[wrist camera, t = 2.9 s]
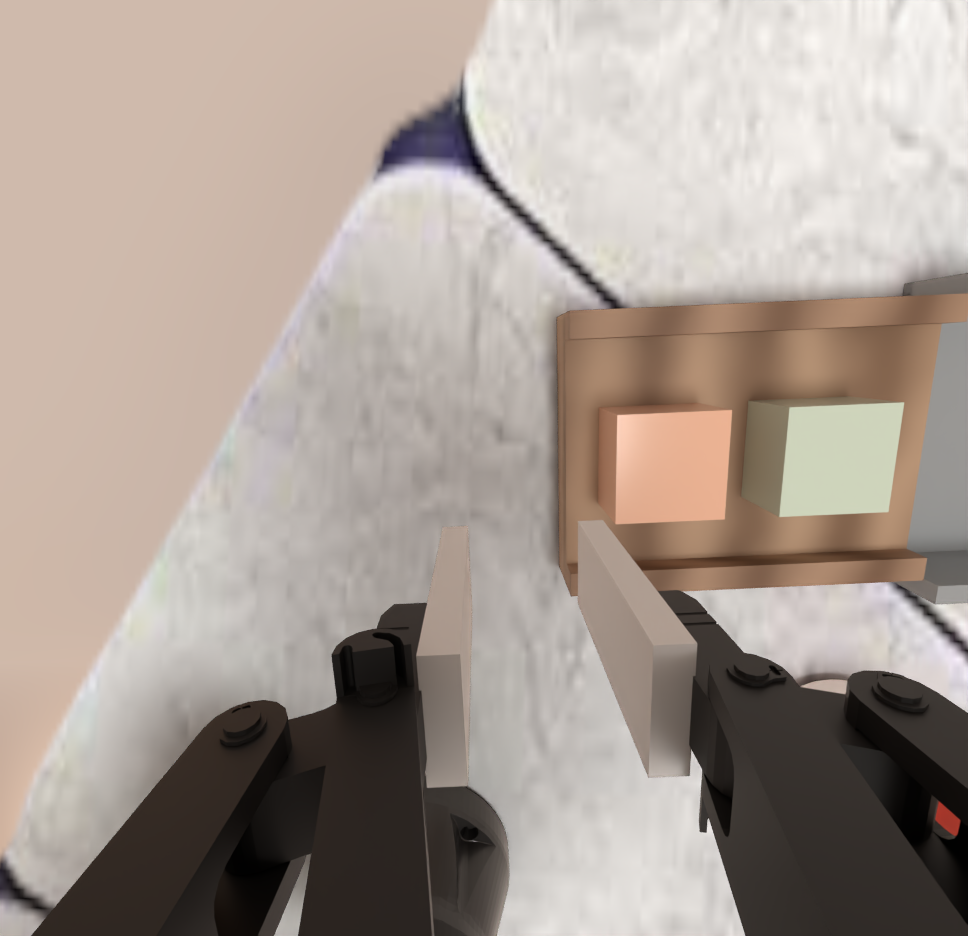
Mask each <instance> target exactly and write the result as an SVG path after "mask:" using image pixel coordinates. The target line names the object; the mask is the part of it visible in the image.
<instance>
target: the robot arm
mask: <svg viewBox="0 0 968 936" xmlns="http://www.w3.org/2000/svg"><path fill="white" fill-rule="evenodd" d="M578 605H579V607H580V610H581V612H582V615H583V617H584V620H585V622H586V625H587V627H588V629H589V632H590V634H591V637H592V639H593V642H594V644H595V647H596V649H597V652H598V654H599V657H600V659H601V662H602V664H603V667H604V669H605V671H606V674H607V676H608V679H609V681H610V684H611V686H612V689H613V691H614V694H615V696H616V699H617V701H618V704H619V706H620V708H621V711H622V713H623V716H624V718H625V721H626V723H627V726H628V728H629V731H630V733H631V736H632V738H633V741H634V743H635V746H636V748H637V750H638V753H639V755H640V758H641V760H642V763H643V765H644V768H645V770H646V773H647V775H648V778H653V777H675V776H690V760H691V749H692V751H693V753H694V755H695V757H696V758H697V760H698V762H699V764H700V766H701V768H702V783H701V798H700V813H699V828H700V832H705V833H706V832H707V819H708V818H709V820H710V823H711V826H712V830H713V833H714V836H715V839H716V842H717V846H718V849H719V852H720V855H721V858H722V862H723V865H724V868H725V871H726V874H727V878H728V881H729V884H730V887H731V891H732V894H733V897H734V900H735V903H736V907H737V910H738V913H739V916H740V919H741V923H742V926H743V929H744V932H745V935H746V936H968V713H967V712H965V711H964V710H962V709H961V708H959V707H958V706H957V705H955V704H954V703H952V702H951V701H949V700H948V699H946V698H945V697H943V696H942V695H940V694H939V693H937V692H935V691H934V690H932V689H930V688H928V687H926V686H925V685H923V684H921V683H919V682H916V681H914V680H911V679H908V678H906V677H904V676H902V675H899V674H895V673H892V674H891V673H889V672H884V671H861V672H857V673H853V674H852V675H851V676H850V678H849V679H848V680H847V687H846V694H841V693H835V692H828V691H822V690H816V689H809V688H805V687H800V686H798V684H797V683H796V681H795V680H794V679H793V677H792V676H791V675H790V674H789V673H788V672H787V671H786V670H785V669H784V668H783V667H781V666H779V665H777V664H776V663H774V662H772V661H770V660H768V659H765V658H762V657H759V656H757V655H754V654H747V653H744V652H743V651H742V650H741V649H740V648H739V647H738V646H737V644H736V643H735V642H734V641H733V640H732V639H731V638H730V637H729V636H728V634H727V633H726V632H725V631H724V630H723V629H722V628H721V627H720V626H719V624H716V621H715V620H714V619H713V618H712V617H711V616H710V614H707V611H706V610H705V609H704V608H703V607H702V606H701V604H700V603H699V602H698V601H697V600H696V599H694V598H692V597H690V596H689V595H687V594H685V593H683V592H681V591H680V590H668V591H657V590H656V589H655V587H654V586H653V585H652V583H651V582H650V581H649V580H648V578H647V577H646V576H645V574H644V573H643V572H642V570H641V569H640V568H639V566H638V565H637V564H636V563H635V561H634V560H633V559H632V557H631V556H630V555H629V553H628V552H627V551H626V549H625V548H624V547H623V546H622V544H621V543H620V542H619V540H618V539H617V538H616V536H615V535H614V534H613V533H612V531H611V530H610V529H609V527H608V526H607V525H606V523H605V522H604V521H603V520H591V521H578ZM471 638H472V595H471V576H470V557H469V538H468V526H456V527H443V529H442V533H441V538H440V543H439V548H438V553H437V558H436V563H435V567H434V572H433V577H432V582H431V587H430V592H429V596H428V601H427V603H414V604H394V605H393V606H392V607H390V608H389V609H388V610H387V611H386V612H385V613H384V614H383V615H382V616H381V618H380V621H379V623H378V626H377V629H371V630H367V631H363V632H359V633H356V634H354V635H352V636H350V637H348V638H346V639H345V640H343V641H342V642H341V643H340V644H338V645H337V646H336V648H335V650H334V651H333V653H332V663H333V671H334V679H335V687H336V695H337V701H336V704H334V705H332V706H330V707H328V708H326V709H324V710H321V711H318V712H315V713H312V714H309V715H305V716H301V717H298V718H294V719H290V720H288V716H287V713H286V709H285V708H284V707H283V706H282V705H280V704H279V703H277V702H273V701H266V700H261V701H253V702H247V703H244V704H241V705H238V706H235V707H233V708H231V709H229V710H227V711H225V712H224V713H222V714H220V715H218V716H217V717H215V718H214V719H213V720H212V721H211V722H210V723H209V724H208V725H207V726H206V727H204V728H203V730H202V731H201V732H200V733H199V734H198V736H197V737H196V738H195V739H194V740H193V742H192V743H191V744H190V745H189V746H188V748H187V749H186V750H185V751H184V752H183V754H182V755H181V756H180V757H179V758H178V760H177V761H176V762H175V763H174V765H173V766H172V767H171V768H170V769H169V771H168V772H167V773H166V774H165V775H164V777H163V778H162V779H161V780H160V781H159V783H158V784H157V785H156V786H155V787H154V789H153V790H152V791H151V792H150V793H149V795H148V796H147V797H146V798H145V799H144V801H143V802H142V803H141V804H140V805H139V807H138V808H137V809H136V810H135V811H134V813H133V814H132V815H131V816H130V817H129V819H128V820H127V821H126V822H125V823H124V825H123V826H122V827H121V828H120V830H119V831H118V832H117V833H116V834H115V836H114V837H113V838H112V839H111V840H110V842H109V843H108V844H107V845H106V846H105V848H104V849H103V850H102V851H101V852H100V854H99V855H98V856H97V857H96V858H95V860H94V861H93V862H92V863H91V864H90V866H89V867H88V868H87V869H86V870H85V872H84V873H83V874H82V875H81V876H80V878H79V879H78V880H77V881H76V882H75V884H74V885H73V886H72V887H71V888H70V890H69V891H68V892H67V893H66V894H65V896H64V897H63V898H62V899H61V901H60V902H59V903H58V904H57V905H56V907H55V908H54V909H53V910H52V911H51V913H50V914H49V915H48V916H47V917H46V919H45V920H44V921H43V922H42V923H41V925H40V926H39V927H38V928H37V929H36V931H35V932H34V933H33V934H32V935H31V936H274V934H275V932H276V929H277V927H278V925H279V922H280V920H281V917H282V915H283V912H284V910H285V908H286V905H287V903H288V900H289V898H290V895H291V893H292V891H293V888H294V886H295V883H296V881H297V879H298V876H299V874H300V871H301V869H302V866H303V864H304V861H305V857H306V855H308V854H310V853H312V854H311V860H310V866H309V872H308V879H307V885H306V891H305V897H304V903H303V909H302V915H301V922H300V928H299V934H298V936H497V932H498V928H499V924H500V920H501V916H502V912H503V908H504V904H505V900H506V896H507V891H508V885H509V856H508V842H507V837H506V833H505V830H504V828H503V825H502V823H501V821H500V819H499V818H498V816H497V815H496V813H495V812H494V811H493V809H492V808H491V807H490V806H489V805H488V804H487V803H486V802H485V801H484V800H483V799H482V798H480V797H479V796H478V795H476V794H475V793H474V792H472V791H470V790H469V789H467V788H465V787H463V786H468V768H469V725H470V682H471ZM425 770H426V776H425ZM939 802H940V803H942V804H943V805H944V806H945V807H946V808H947V809H948V810H949V811H951V812H952V813H953V814H954V815H955V816H956V817H957V818H958V819H960V820H961V821H960V825H959V830H958V834H957V835H956V836H954V835H952V834H951V833H950V832H948V831H947V830H946V829H944V828H943V827H942V826H941V825H940V824H939V823H938V822H937V821H936V820H935V818H936V813H937V808H938V803H939Z"/></svg>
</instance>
